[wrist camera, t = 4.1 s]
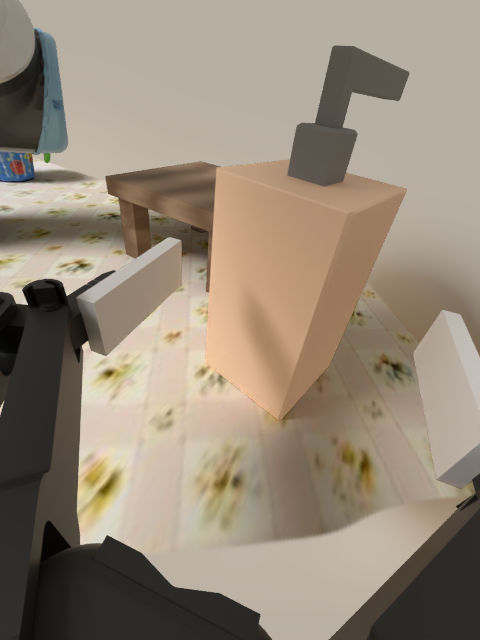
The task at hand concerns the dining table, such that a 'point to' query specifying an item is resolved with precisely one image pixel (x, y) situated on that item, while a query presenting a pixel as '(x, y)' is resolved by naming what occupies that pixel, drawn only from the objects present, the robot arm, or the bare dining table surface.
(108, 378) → the dining table surface
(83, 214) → the dining table surface
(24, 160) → the snack cup
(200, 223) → the walnut stool
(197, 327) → the dining table surface
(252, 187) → the soap dispenser
